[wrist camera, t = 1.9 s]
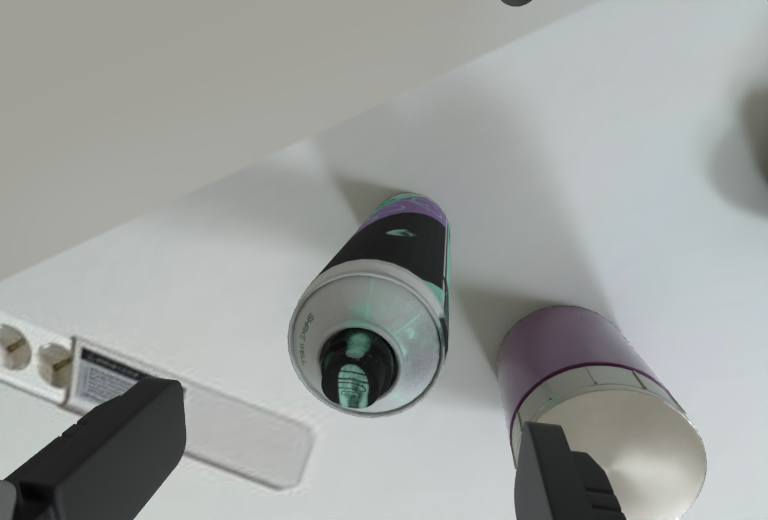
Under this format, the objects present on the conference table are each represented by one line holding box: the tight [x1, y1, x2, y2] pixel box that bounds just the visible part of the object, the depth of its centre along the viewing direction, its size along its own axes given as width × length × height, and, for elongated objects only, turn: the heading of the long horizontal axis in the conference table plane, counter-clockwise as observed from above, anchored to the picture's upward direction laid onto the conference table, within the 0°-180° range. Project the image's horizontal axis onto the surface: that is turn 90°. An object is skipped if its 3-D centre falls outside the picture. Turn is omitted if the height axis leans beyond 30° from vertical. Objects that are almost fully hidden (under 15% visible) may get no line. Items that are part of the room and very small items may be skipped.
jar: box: [496, 306, 670, 448], centre depth 29 cm, size 9×9×10 cm
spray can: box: [288, 193, 450, 418], centre depth 23 cm, size 6×6×20 cm
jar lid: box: [511, 366, 707, 520], centre depth 25 cm, size 9×9×2 cm
